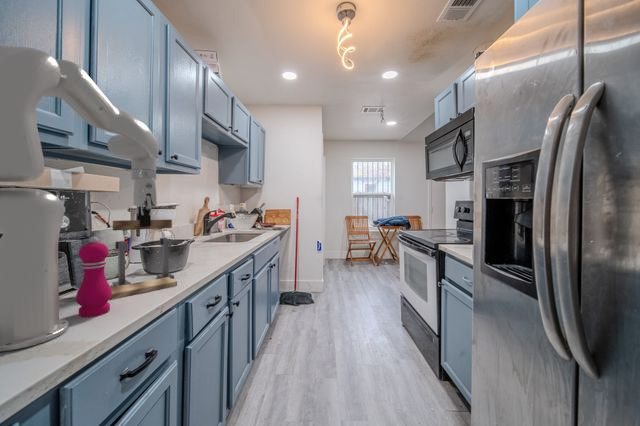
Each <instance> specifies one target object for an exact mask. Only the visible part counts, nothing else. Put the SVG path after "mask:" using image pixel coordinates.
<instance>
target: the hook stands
mask: <svg viewBox="0 0 640 426" xmlns="http://www.w3.org/2000/svg"><path fill="white" fill-rule="evenodd" d="M114 243H115V244H114V248H115V249H114V250H116V251H117V268H118V269H117V276H118V277H117V281H113V282H111V283H112V287H116V286H122V285H127V284H132V282H131V281H128V280H127V279H126V251H128V250H129V245H128V244H129V243H128V242H127V241H126V242H125V241H124V240H121V241H115V242H114ZM159 246H162V247H161V248H162V249H161V251H162V253H161V255H162V256H161V257H162V259H161V261H162V265H161V266H162V273H159V274H157V275H156V279H160V278H166V277H169V278H171V279H173V280H174V279H175V275H174V274H172V273H170V272H169V269H170V268H169V266H170V265H169V263H170V262H169V258H170V257H169V247H172V238H168V237H160V238H159Z"/></svg>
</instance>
